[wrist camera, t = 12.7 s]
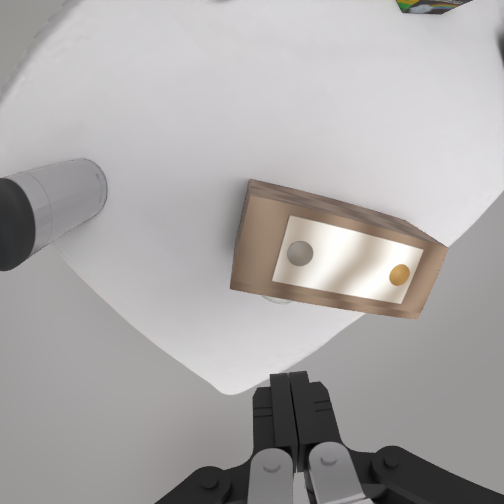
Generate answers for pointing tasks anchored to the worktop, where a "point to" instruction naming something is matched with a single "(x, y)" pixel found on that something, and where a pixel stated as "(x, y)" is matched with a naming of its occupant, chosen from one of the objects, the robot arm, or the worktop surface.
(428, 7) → the chalk box
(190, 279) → the worktop surface
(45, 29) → the worktop surface
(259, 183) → the button panel
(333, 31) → the worktop surface
